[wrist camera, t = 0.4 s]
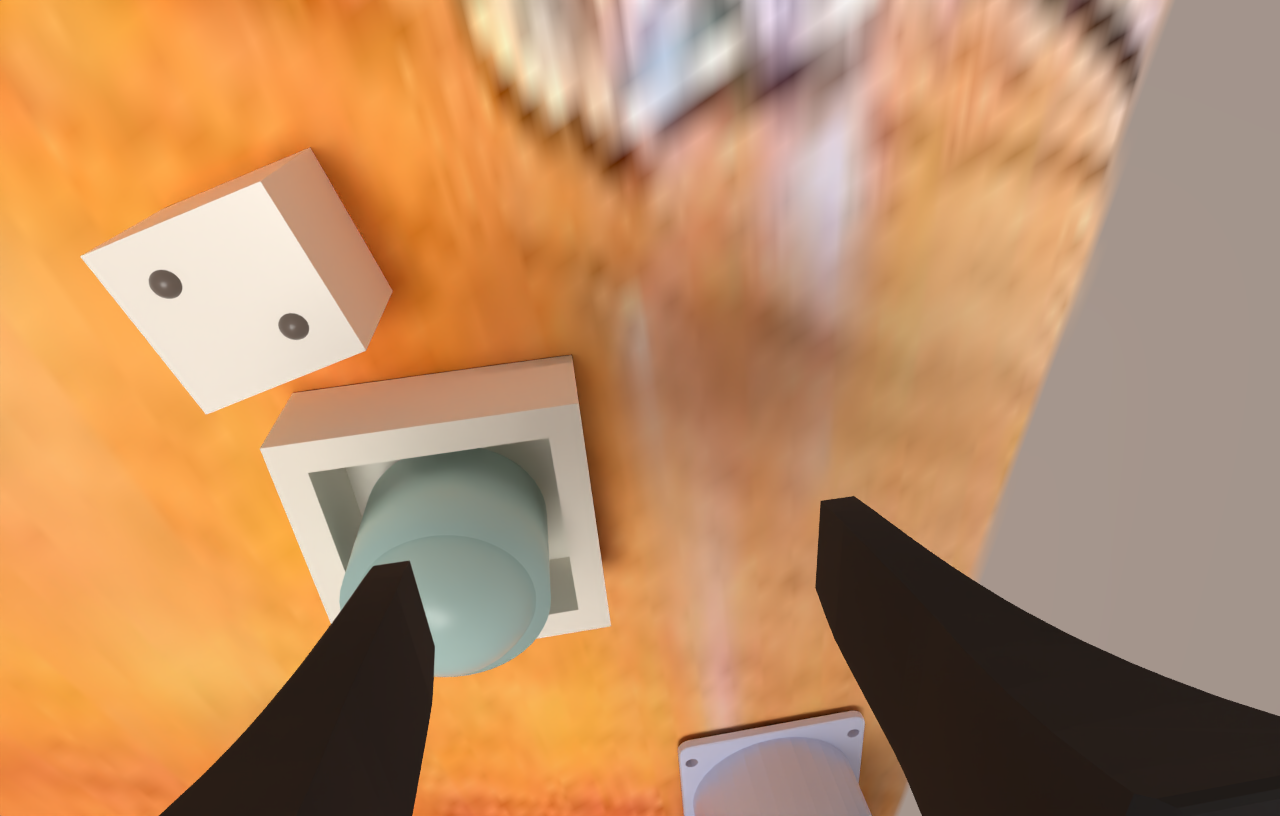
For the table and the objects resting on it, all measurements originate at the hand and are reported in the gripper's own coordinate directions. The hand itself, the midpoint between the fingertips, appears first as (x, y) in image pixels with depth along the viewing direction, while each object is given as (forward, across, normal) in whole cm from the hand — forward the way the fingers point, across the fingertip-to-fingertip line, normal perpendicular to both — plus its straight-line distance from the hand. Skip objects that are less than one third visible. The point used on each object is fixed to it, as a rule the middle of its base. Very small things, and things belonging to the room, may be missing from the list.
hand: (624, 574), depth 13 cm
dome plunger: (+8, +4, +4) cm, 10 cm away
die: (+10, +8, -4) cm, 13 cm away
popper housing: (+10, +4, +4) cm, 12 cm away
